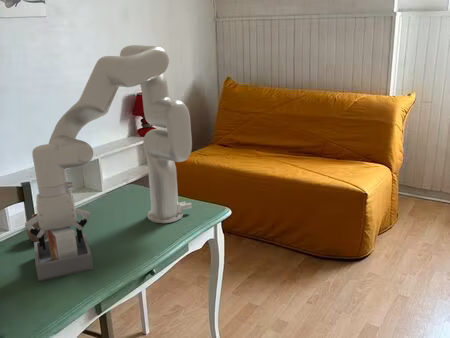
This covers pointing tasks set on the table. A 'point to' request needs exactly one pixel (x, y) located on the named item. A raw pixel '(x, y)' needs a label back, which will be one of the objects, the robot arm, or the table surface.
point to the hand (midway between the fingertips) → (62, 244)
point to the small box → (62, 243)
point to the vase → (36, 226)
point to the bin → (62, 261)
